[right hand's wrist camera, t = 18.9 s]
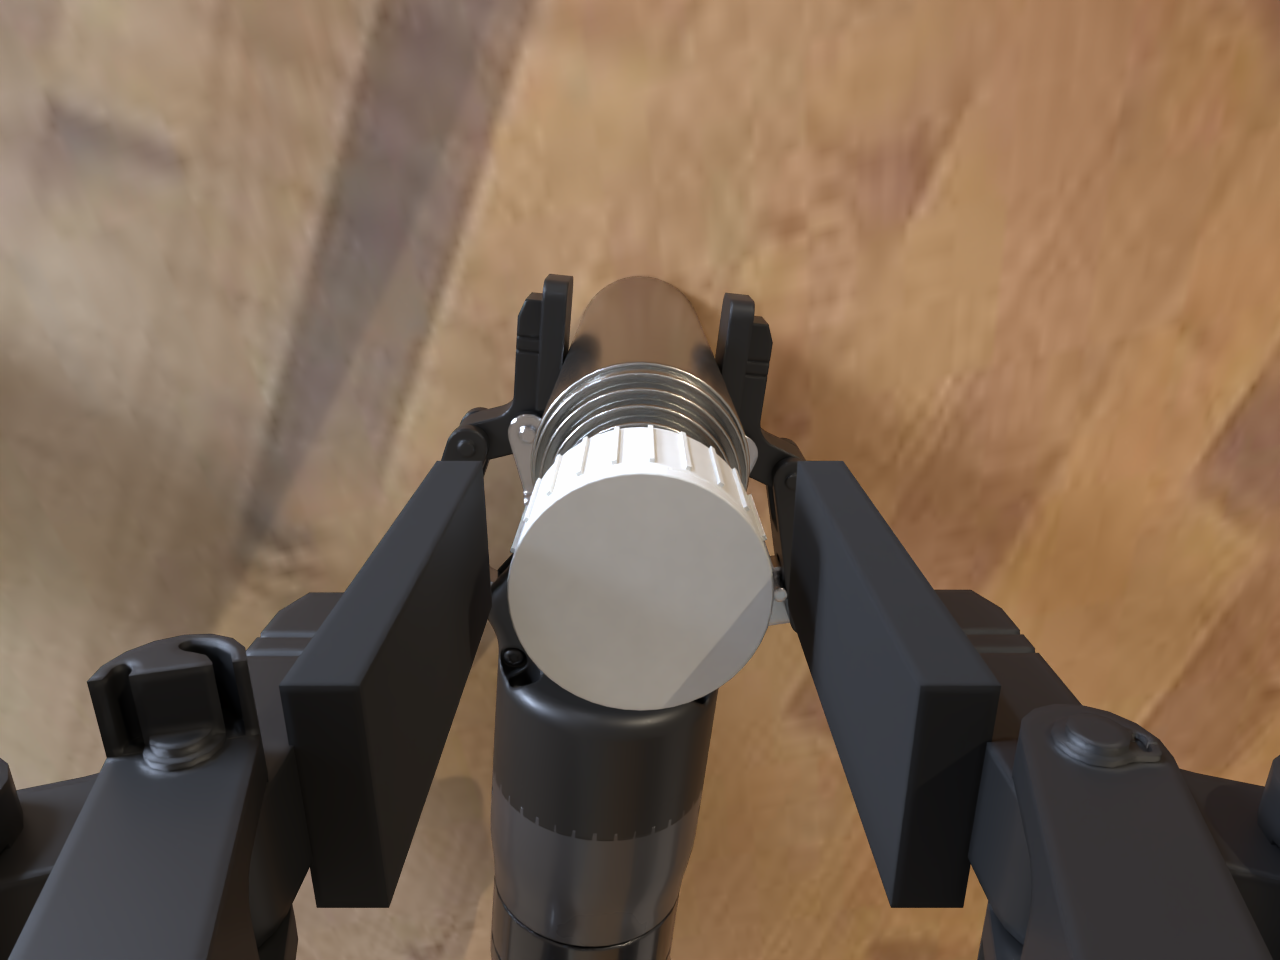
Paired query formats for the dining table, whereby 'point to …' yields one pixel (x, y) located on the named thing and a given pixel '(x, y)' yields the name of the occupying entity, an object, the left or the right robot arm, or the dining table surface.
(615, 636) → the cap
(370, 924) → the dining table surface
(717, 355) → the left robot arm
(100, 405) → the dining table surface
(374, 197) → the dining table surface
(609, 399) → the bottle
